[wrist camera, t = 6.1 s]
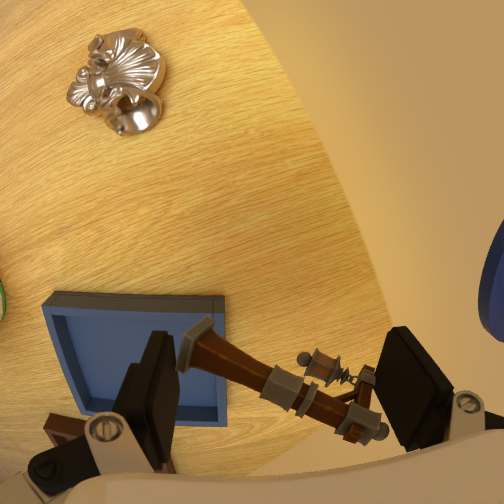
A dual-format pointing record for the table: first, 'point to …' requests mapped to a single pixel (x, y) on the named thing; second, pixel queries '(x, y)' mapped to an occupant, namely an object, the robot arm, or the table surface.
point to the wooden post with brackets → (288, 382)
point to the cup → (2, 302)
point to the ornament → (120, 82)
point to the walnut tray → (71, 428)
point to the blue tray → (131, 347)
